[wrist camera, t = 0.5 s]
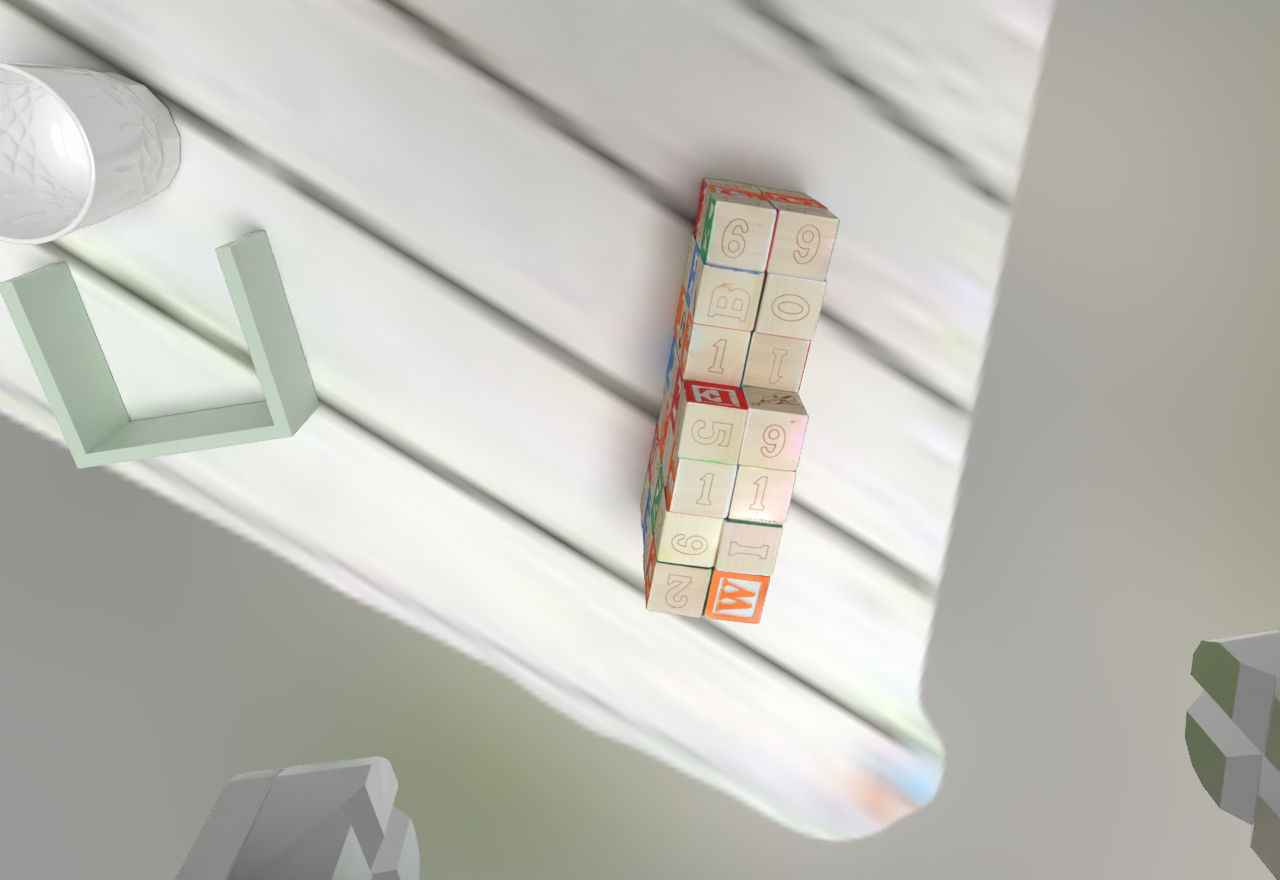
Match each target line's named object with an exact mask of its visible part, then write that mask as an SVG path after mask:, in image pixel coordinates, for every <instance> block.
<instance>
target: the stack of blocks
mask: <svg viewBox="0 0 1280 880" xmlns="http://www.w3.org/2000/svg"><path fill="white" fill-rule="evenodd" d="M838 226H839V219H838V218H837V217H836V216H835V215H833V214H832V213H831V212H830V211H828V209H827V208H826V207H825V206H824V205H822V204H821V203H819V202H818V201H816V200H814V199H812V198H811V197H809V196H808V195H806V194H802V193H796V192H790V191H784V190H778V189H772V188H765V187H759V186H754V185H750V184H744V183H738V182H732V181H726V180H719V179H709V178H704V179H703V182H702V188H701V194H700V200H699V206H698V211H697V217H696V223H695V231H694V233H692V236H691V242H690V247H689V252H688V258H687V263H686V268H685V274H684V281H683V285H682V289H681V294H680V300H679V305H678V310H677V316H676V321H675V326H674V331H675V334H674V338H673V344H672V349H671V355H670V359H669V365H668V370H667V376H666V382H665V387H664V393H663V398H662V403H661V409H660V414H659V420H658V423H657V425H656V430H655V434H654V440H653V445H652V450H651V455H650V461H649V466H648V469H647V474H646V479H645V484H644V489H643V494H642V500H641V526H642V528H643V542H644V552H643V567H644V579H645V595H646V609H647V610H648V611H654V612H662V613H669V614H677V615H684V616H691V617H697V618H700V617H701V616H702V615H703V616H704V617H706V618H710V619H717V620H726V621H734V622H744V623H753V624H758V623H760V619H761V615H762V611H763V606H764V602H765V598H766V594H767V590H768V586H769V582H770V576H771V575H772V574H773V571H774V567H775V563H776V558H777V553H778V549H779V545H780V540H781V535H782V530H783V528H782V524H784V523H785V522H786V520H787V515H788V511H789V506H790V502H791V497H792V493H793V488H794V484H795V479H796V469H797V467H798V463H799V459H800V454H801V450H802V445H803V441H804V436H805V432H806V427H807V423H808V419H809V416H808V414H807V412H806V410H805V408H804V406H803V404H802V402H801V399H800V397H799V395H798V392H799V389H800V385H801V380H802V376H803V372H804V368H805V364H806V360H807V356H808V352H809V348H810V343H811V340H812V339H813V338H814V334H815V330H816V326H817V322H818V319H819V315H820V311H821V306H822V302H823V298H824V294H825V289H826V285H827V282H826V280H825V278H826V275H827V271H828V268H829V263H830V259H831V255H832V251H833V247H834V243H835V238H836V235H837V230H838Z"/></svg>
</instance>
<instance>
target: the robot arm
mask: <svg viewBox="0 0 1280 880" xmlns="http://www.w3.org/2000/svg"><path fill="white" fill-rule="evenodd" d="M1191 675H1192V676H1193V677H1194V679H1195V680H1196V681H1197V682H1198V683H1199V684H1200V685H1201V687H1202V688H1203V689H1204V691H1203V692H1202V693H1201V695H1200V696H1199V697H1198V698H1197V699H1196V700H1195V701H1194V703H1193V704H1192V705H1191V706H1190V707H1189V708H1188V710H1187V713H1186V729H1185V740H1186V743H1187V747H1188V751H1189V755H1190V759H1191V763H1192V766H1193V768H1194V770H1195V772H1196V773H1197V775H1198V777H1199V779H1200V781H1201V783H1202V785H1203V787H1204V788H1205V790H1206V791H1207V792H1208V793H1209V794H1210V796H1211V797H1212V799H1213V800H1214V801H1215V803H1216V804H1217V805H1218V806H1219V808H1221V809H1222V810H1224V811H1226V812H1228V813H1230V814H1232V815H1234V816H1236V817H1237V818H1239V819H1241V820H1243V821H1245V822H1247V823H1249V824H1251V825H1252V830H1251V848H1252V849H1253V850H1254V852H1255V853H1256V854H1257V855H1258V857H1259V858H1260V859H1261V860H1262V862H1263V863H1264V864H1265V865H1266V867H1267V868H1268V869H1269V870H1270V871H1271V873H1272V874H1273V875H1274V876H1275V878H1276V879H1277V880H1280V629H1278V630H1271V631H1264V632H1257V633H1251V634H1244V635H1237V636H1230V637H1224V638H1216V639H1210V640H1203V641H1201V642H1200V644H1199V646H1198V647H1197V649H1196V650H1195V652H1194V654H1193V662H1192V669H1191ZM398 786H399V784H398V781H397V779H396V776H395V774H394V771H393V769H392V766H391V764H390V761H389V760H387V759H385V758H383V757H380V756H378V757H370V758H362V759H352V760H344V761H335V762H326V763H318V764H309V765H301V766H292V767H287V768H286V769H275V770H267V771H257V772H249V773H240V774H239V775H237V776H236V777H235V778H233V779H232V780H231V781H229V782H228V783H227V784H226V786H225V788H224V789H223V791H222V793H221V795H220V797H219V799H218V801H217V802H216V804H215V806H214V808H213V810H212V812H211V814H210V815H209V817H208V819H207V821H206V823H205V825H204V827H203V828H202V830H201V832H200V834H199V836H198V838H197V840H196V841H195V843H194V845H193V847H192V849H191V851H190V853H189V854H188V856H187V858H186V860H185V862H184V864H183V865H182V867H181V869H180V871H179V873H178V875H177V877H176V878H175V880H419V875H420V854H419V848H418V842H417V835H416V832H415V829H414V826H413V823H412V821H411V818H410V817H409V816H408V815H406V814H405V813H404V812H402V811H401V810H399V809H398V808H397V807H395V806H394V805H393V804H394V800H395V796H396V793H397V790H398Z"/></svg>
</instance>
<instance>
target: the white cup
mask: <svg viewBox="0 0 1280 880" xmlns="http://www.w3.org/2000/svg"><path fill="white" fill-rule="evenodd" d="M179 166H180V136H179V134H178V131H177V129H176V127H175V124H174V122H173V120H172V117H171V115H170V113H169V110H168V108H167V107H166V106H165V105H164V104H163V103H162V102H161V101H160V100H159V99H158V98H157V97H156V96H155V95H154V94H153V93H152V92H151V91H150V90H149V89H148V88H147V87H146V86H145V85H143V84H140V83H138V82H136V81H134V80H131V79H129V78H127V77H124V76H122V75H120V74H118V73H113V72H96V71H91V70H87V69H82V68H76V67H67V66H58V65H50V64H40V63H25V62H11V61H0V241H4V242H8V243H14V244H25V245H30V244H40V243H45V242H49V241H52V240H55V239H58V238H60V237H63V236H65V235H67V234H70V233H72V232H75V231H78V230H80V229H83V228H85V227H88V226H91V225H93V224H96V223H98V222H101V221H103V220H106V219H108V218H110V217H112V216H114V215H116V214H119V213H121V212H123V211H125V210H128V209H130V208H132V207H134V206H136V205H137V204H139V203H141V202H143V201H146V200H147V199H149V198H151V197H153V196H154V195H156V194H158V193H159V192H161V191H163V190H164V189H166V188H168V186H169V184H170V182H171V180H172V179H173V177H174V175H175V173H176V171H177V169H178V167H179Z"/></svg>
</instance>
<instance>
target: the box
mask: <svg viewBox="0 0 1280 880" xmlns="http://www.w3.org/2000/svg"><path fill="white" fill-rule="evenodd" d="M215 251H216V254H217V257H218V260H219V263H220V266H221V269H222V272H223V275H224V277H225V280H226V283H227V286H228V289H229V292H230V295H231V298H232V301H233V304H234V307H235V310H236V313H237V316H238V319H239V322H240V325H241V328H242V331H243V334H244V337H245V340H246V343H247V346H248V349H249V352H250V355H251V357H252V360H253V363H254V366H255V369H256V372H257V375H258V378H259V381H260V384H261V387H262V390H263V393H264V396H265V399H266V401H262V402H255V403H248V404H242V405H235V406H229V407H222V408H216V409H209V410H202V411H196V412H189V413H183V414H176V415H170V416H163V417H156V418H150V419H143V420H137V421H130V419H129V416H128V414H127V411H126V409H125V406H124V404H123V401H122V399H121V396H120V394H119V392H118V389H117V387H116V384H115V382H114V379H113V377H112V374H111V372H110V369H109V367H108V364H107V362H106V359H105V357H104V355H103V352H102V350H101V347H100V345H99V342H98V340H97V337H96V335H95V332H94V330H93V327H92V325H91V322H90V320H89V317H88V315H87V313H86V310H85V308H84V305H83V303H82V300H81V298H80V295H79V293H78V290H77V288H76V285H75V283H74V280H73V278H72V276H71V273H70V271H69V268H68V266H67V263H66V262H64V263H58V264H52V265H49V266H46V267H44V268H41V269H38V270H35V271H32V272H30V273H27V274H24V275H21V276H18V277H15V278H13V279H10V280H7V281H4V282H1V283H0V292H1V295H2V297H3V299H4V301H5V304H6V306H7V308H8V310H9V313H10V315H11V317H12V320H13V322H14V324H15V326H16V329H17V331H18V333H19V335H20V338H21V340H22V342H23V345H24V347H25V349H26V351H27V354H28V356H29V358H30V361H31V363H32V365H33V367H34V370H35V372H36V374H37V376H38V379H39V381H40V383H41V386H42V388H43V390H44V392H45V395H46V397H47V399H48V401H49V404H50V406H51V408H52V411H53V413H54V415H55V417H56V420H57V422H58V424H59V426H60V429H61V431H62V433H63V436H64V438H65V440H66V442H67V445H68V447H69V449H70V451H71V454H72V456H73V458H74V461H75V463H76V465H77V467H78V469H79V468H86V467H92V466H99V465H106V464H112V463H119V462H126V461H132V460H139V459H146V458H152V457H159V456H166V455H172V454H179V453H186V452H192V451H199V450H206V449H212V448H219V447H225V446H232V445H239V444H245V443H252V442H259V441H265V440H272V439H279V438H285V437H292V436H293V435H294V434H295V433H296V432H297V431H298V430H299V428H300V427H301V426H302V425H303V424H304V423H305V422H306V421H307V419H308V418H309V417H310V416H311V415H312V414H313V413H314V411H315V410H316V409H317V408H318V407H319V406H320V404H319V401H318V398H317V394H316V391H315V388H314V385H313V382H312V378H311V375H310V372H309V369H308V366H307V362H306V359H305V356H304V353H303V350H302V346H301V343H300V340H299V337H298V334H297V330H296V327H295V324H294V321H293V318H292V314H291V311H290V308H289V305H288V302H287V298H286V295H285V292H284V289H283V286H282V282H281V279H280V276H279V273H278V270H277V266H276V263H275V260H274V257H273V254H272V250H271V247H270V244H269V241H268V238H267V234H266V231H265V230H264V231H258V232H252V233H249V234H247V235H245V236H243V237H241V238H239V239H236V240H234V241H232V242H230V243H228V244H225V245H223V246H221V247H219V248H217V249H215Z"/></svg>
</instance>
